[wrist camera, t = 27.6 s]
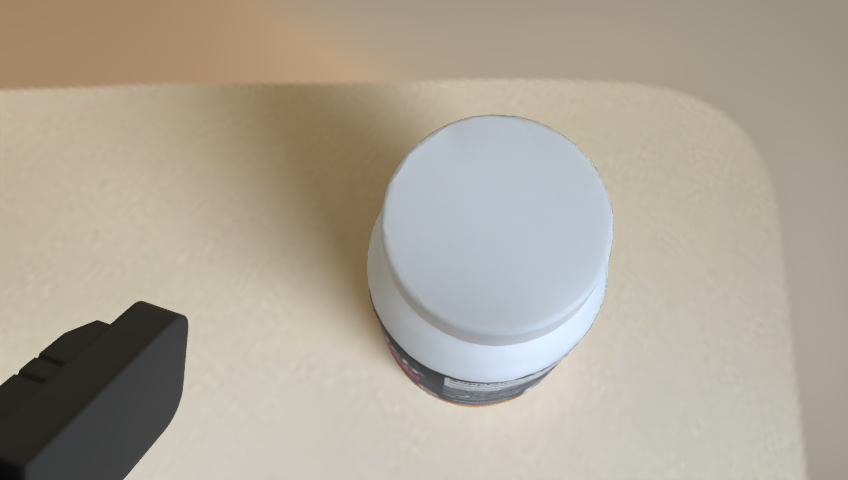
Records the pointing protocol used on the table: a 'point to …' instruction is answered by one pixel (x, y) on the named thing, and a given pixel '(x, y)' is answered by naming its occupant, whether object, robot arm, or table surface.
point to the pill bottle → (489, 257)
